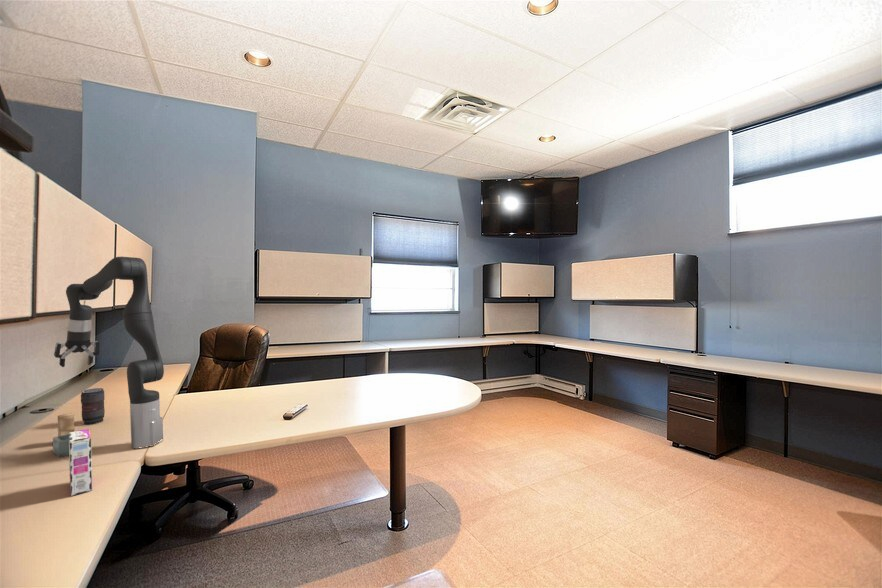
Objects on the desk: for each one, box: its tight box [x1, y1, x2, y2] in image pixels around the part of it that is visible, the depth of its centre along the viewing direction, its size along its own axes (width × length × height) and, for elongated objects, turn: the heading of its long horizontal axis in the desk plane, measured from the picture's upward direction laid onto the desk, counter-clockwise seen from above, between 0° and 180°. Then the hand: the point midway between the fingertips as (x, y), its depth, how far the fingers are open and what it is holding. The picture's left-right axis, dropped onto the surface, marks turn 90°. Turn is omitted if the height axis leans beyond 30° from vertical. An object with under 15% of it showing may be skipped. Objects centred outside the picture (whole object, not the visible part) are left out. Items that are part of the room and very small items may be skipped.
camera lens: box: [80, 387, 106, 426], centre depth 180 cm, size 8×8×15 cm
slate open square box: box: [52, 434, 69, 458], centre depth 148 cm, size 8×8×6 cm
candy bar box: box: [68, 428, 93, 497], centre depth 120 cm, size 11×5×16 cm, turn 45°
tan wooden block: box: [57, 412, 76, 436], centre depth 156 cm, size 4×4×11 cm
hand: (76, 365), depth 170 cm, fingers open, 8 cm apart
